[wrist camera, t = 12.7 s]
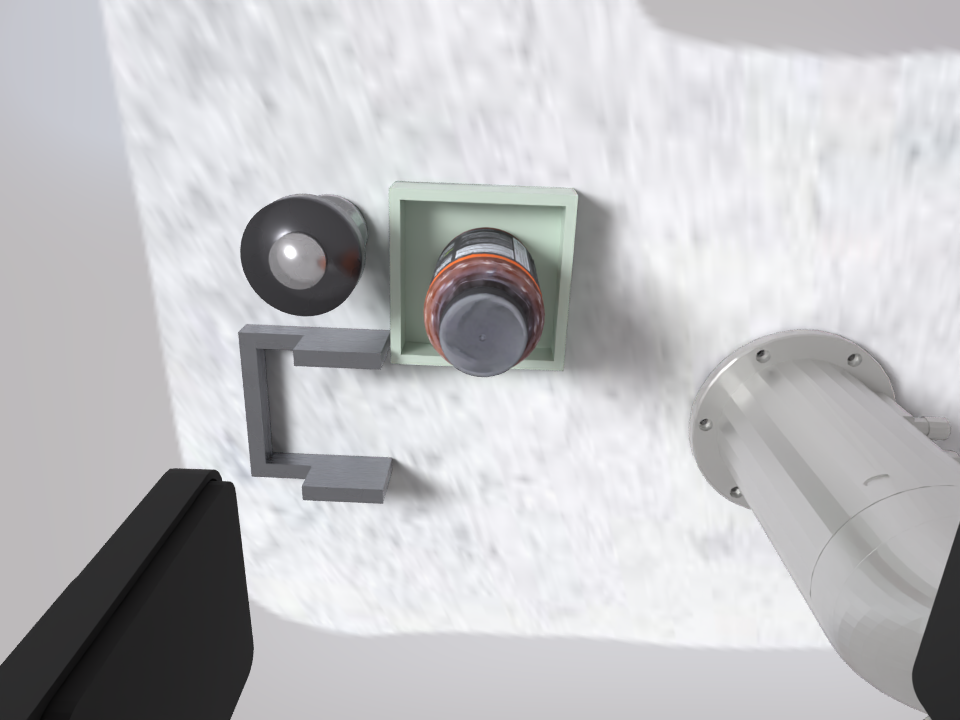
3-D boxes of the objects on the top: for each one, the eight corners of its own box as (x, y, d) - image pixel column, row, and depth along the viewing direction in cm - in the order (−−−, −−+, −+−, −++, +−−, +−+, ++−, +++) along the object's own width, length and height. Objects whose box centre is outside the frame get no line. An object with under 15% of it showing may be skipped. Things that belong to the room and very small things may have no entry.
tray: (573, 188, 41) (578, 195, 38) (559, 354, 45) (563, 371, 42) (395, 181, 41) (388, 187, 38) (396, 347, 45) (390, 363, 42)
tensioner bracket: (390, 330, 44) (380, 353, 41) (392, 470, 48) (383, 503, 44) (246, 324, 44) (223, 346, 41) (258, 464, 48) (238, 497, 44)
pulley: (380, 182, 41) (355, 203, 34) (381, 283, 43) (359, 322, 36) (276, 178, 41) (230, 198, 34) (283, 279, 43) (241, 317, 36)
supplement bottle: (521, 332, 43) (529, 413, 33) (426, 309, 43) (403, 383, 33) (548, 238, 41) (565, 292, 31) (448, 212, 41) (431, 259, 30)
